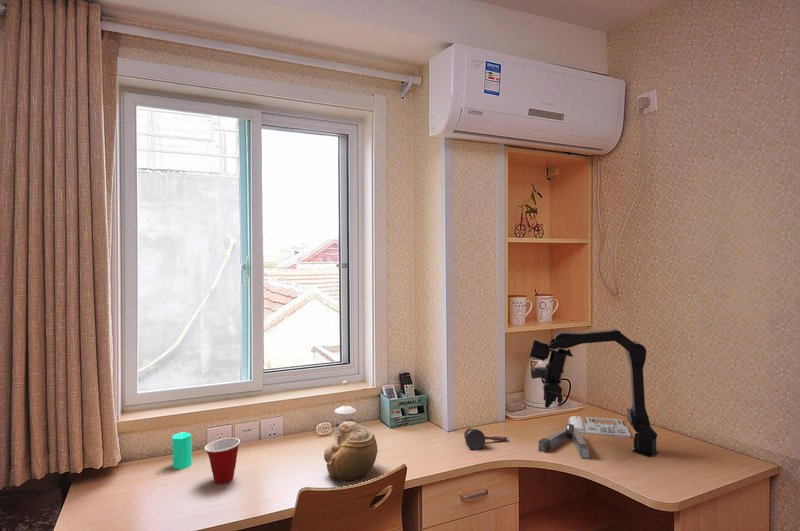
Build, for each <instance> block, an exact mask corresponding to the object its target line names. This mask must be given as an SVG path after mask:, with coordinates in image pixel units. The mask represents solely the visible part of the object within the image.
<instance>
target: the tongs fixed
mask: <svg viewBox="0 0 800 531" xmlns="http://www.w3.org/2000/svg"><path fill="white" fill-rule="evenodd" d="M565 426H566V427H565V428H566V429H564V428H560V429H558V430H556V431H555V432H553V433H552V434H549V435H547V436H545V437H544V438H541V439H539V440H538V452H542V453H547V452H549V451H551V449H553V448H555V447H556V446H558V445H560V444H562V443H563V442H565V441H566V440H572V430H574V425H573V424H568V423H567V424H566V425H565Z"/></svg>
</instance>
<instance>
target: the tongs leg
mask: <svg viewBox="0 0 800 531" xmlns="http://www.w3.org/2000/svg"><path fill="white" fill-rule="evenodd" d="M571 440H572V442H573V444H574V446H575V448H576V450H577V452H578V454H579V456H580V458H581V459H590V447H589V445H588V443H586V441H585V439H584V437H583V436H582V433H580V432H579V431H576V430H572V439H571Z"/></svg>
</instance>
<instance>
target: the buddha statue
mask: <svg viewBox="0 0 800 531" xmlns="http://www.w3.org/2000/svg"><path fill="white" fill-rule="evenodd" d="M337 428H339V431H338V432H337V434H336V435H337V437H336V439H335V440H336V441H335V440H334V441H333V442H331V444H328V446H326V447H325V449H324V452H323V453H324V454H323V458H324V462H326V469H327V472H328V474H330V475H331V477H333V478H334V479H336V480H338V481H342V482H346V483H348V482H350V483H351V482H356V481H360V480H363V479H365V478H366V477H367V476H368V474H369V473H370V472H371V471H372V468H373V467H374V464H375V463H376V461H377V460H376V458H377V454H378V442H377V440H376V437H375V435H374V434H375V433H374V432H373V431H372V429H369V428H367V427H365V426H363V425H361V424H360V423H359V424H358V423H357V422H356V421H355V422H352V421H351V422H350V421H348V422H346V421H345V422H343V423H341V425H339V426H337Z"/></svg>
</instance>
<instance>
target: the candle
mask: <svg viewBox="0 0 800 531" xmlns="http://www.w3.org/2000/svg"><path fill="white" fill-rule="evenodd" d="M171 440H172V444H171V445H172V446H171V448H172V468H173V469H174V470H183V469H188V468H189V467H191V466H192V464H193V461H192V458H193V456H192V453H193V452H192V434H191V433H190V432H185V431H181V432H178V433H175V434H173V435H172V438H171Z"/></svg>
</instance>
